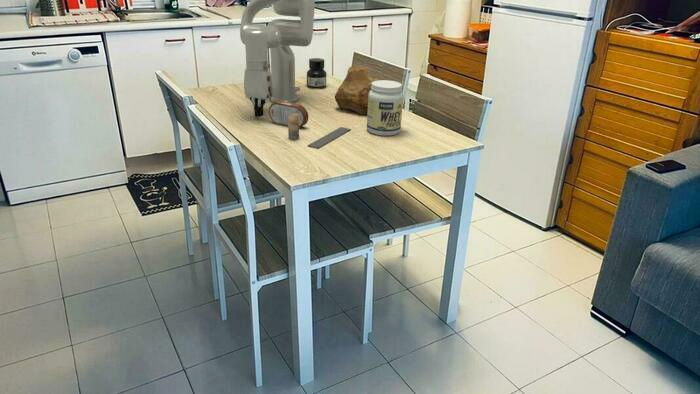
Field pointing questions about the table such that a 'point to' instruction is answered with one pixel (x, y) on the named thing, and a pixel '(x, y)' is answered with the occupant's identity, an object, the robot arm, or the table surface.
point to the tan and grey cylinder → (293, 126)
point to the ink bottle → (316, 73)
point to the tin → (287, 112)
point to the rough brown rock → (355, 90)
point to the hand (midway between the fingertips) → (259, 115)
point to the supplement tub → (385, 108)
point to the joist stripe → (329, 138)
